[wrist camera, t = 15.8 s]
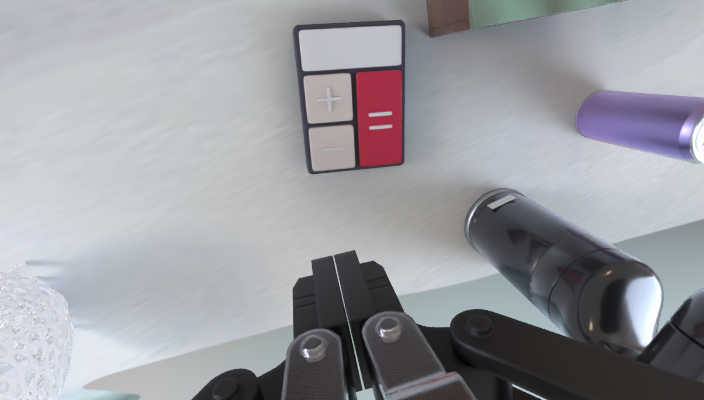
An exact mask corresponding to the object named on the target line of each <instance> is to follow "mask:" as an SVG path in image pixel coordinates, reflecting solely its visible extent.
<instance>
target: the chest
mask: <svg viewBox="0 0 704 400" xmlns="http://www.w3.org/2000/svg"><path fill="white" fill-rule="evenodd" d="M615 3H616V2H615ZM610 4H611V3H610ZM604 5H606V4H604ZM599 6H601V5H599ZM594 7H596V6H594ZM588 8H591V7H588ZM427 9H428V20H429V31H430V38H431V37H436V36H442V35H447V34H452V33H458V32H463V31H469V30H474V29H471V27H470V8H469V0H427ZM583 9H586V8H583ZM577 10H580V9H577ZM572 11H575V10H572ZM567 12H570V11H567ZM561 13H565V12H561ZM556 14H560V13H556ZM550 15H555V14H550ZM545 16H549V15H545ZM540 17H544V16H540ZM534 18H538V17H534ZM529 19H533V18H529ZM524 20H528V19H524ZM518 21H522V20H518ZM513 22H517V21H513ZM507 23H512V22H507ZM502 24H506V23H502ZM497 25H501V24H497ZM491 26H495V25H491ZM486 27H490V26H486ZM480 28H485V27H480ZM475 29H479V28H475Z"/></svg>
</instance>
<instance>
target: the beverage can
mask: <svg viewBox="0 0 704 400" xmlns="http://www.w3.org/2000/svg"><path fill="white" fill-rule="evenodd" d="M575 121H576V126H577V129H578V130H579V132H580V133H581V134H582V135H583V136H584V137H586V138H589V139H593V140H597V141H601V142H606V143H610V144H614V145H618V146H623V147H627V148H631V149H635V150H639V151H644V152H648V153H652V154H656V155H661V156H665V157H669V158H673V159H677V160H682V161H686V162H690V163H704V98H700V97H686V96H672V95H659V94H645V93H631V92H618V91H598V92H595V93H593V94H591V95H590V96H588V97H587V98H586V99H585V100H584V101H583V102H582V103H581V104H580V106H579V108H578V110H577V113H576V118H575Z"/></svg>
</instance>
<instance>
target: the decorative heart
mask: <svg viewBox="0 0 704 400" xmlns="http://www.w3.org/2000/svg"><path fill="white" fill-rule="evenodd" d="M26 265H27V264H26V262H25V261H23V262H21V263H20V264H19V265H17V266H16V267H14V268H13V269H12V270H10V271H9V272H8V273H2V272H0V319H2V320H4V321H5V322H4V323H3V325H1V326H0V400H22V398H23V397H24V396H25V395H26V394H27V393H30V397H29V399H28V400H35V398H37V399H38V400H58V399H59V397H60V394H61V392H62V389H63V386H64V382H65V379H66V376H67V374H68V370H69V365H70V359H71V347H72V330H73V329H74V326H73V324H72V320H71V315H70V311H69V307H68V303H67V301H66V300H65V298H64V297H63V296H62V295H61V294H60V293H59V292H57V291H55V290H53V289H51V288H50V287H48V286H46V285H44V284H42V283H39V282H37V281H38V279H37V278H36V277H33V278H32V279H29V278H26V277H22V276H18V275H14V274H16V273H17V272H18V271H20V270H21V269H22V268H24V267H25V266H26ZM7 283H8V284H7ZM4 289H6V291H5V292H2V291H3V290H4ZM39 289H40V290H41V291H40V290H39ZM14 291H15V292H16V293H15V292H14ZM8 297H12V298H10V299H7V298H8ZM39 298H40V299H39ZM25 301H29V302H25ZM38 304H40V305H42V306H43V309H42V311H38V310H37V309H36V308H35V307H36V306H37V305H38ZM19 305H20V306H19ZM24 307H26V308H27V310H25V311H22V309H23V308H24ZM7 309H9V310H10V312H9V314H2V313H1V312H2V311H3V310H7ZM28 312H31V315H29V314H28ZM17 315H20V316H21V321H20V322H15V321H14V320H13V318H14V317H15V316H17ZM54 317H55V318H54ZM33 320H35V321H36V323H35V325H33V326H32V325H31V323H32V321H33ZM42 320H44V321H42ZM42 324H43V326H42V327H41V325H42ZM16 326H18V327H17V328H15V329H13V327H16ZM23 328H24V330H22V329H23ZM47 329H48V334H47V335H46V336H45V334H46V331H47ZM21 330H22V331H21ZM15 339H16V343H17V345H16V348H13V347H12V346H13V340H15ZM50 339H51V341H50V343H49V340H50ZM20 340H22V341H23V342H24V343H25V344H22V343H21V341H20ZM34 340H38V341H37V342H33V341H34ZM36 348H39V349H38V353H37V354H36V355H33V352H34V350H35V349H36ZM51 349H52V351H51ZM59 350H60V351H59ZM50 351H51V352H50ZM18 354H20V355H19V357H18ZM41 355H43V360H41V358H40V356H41ZM17 357H18V359H17ZM24 357H26V359H24ZM36 361H37V362H38V363H36ZM7 364H8V365H7ZM52 369H53V371H52V373H51V370H52ZM33 371H34V372H33ZM43 371H45V373H44V374H43V375H41V373H42V372H43ZM32 378H33V380H32V382H31V384H30V385H29V386H28V383H29V381H30V380H31V379H32ZM55 379H56V380H55ZM41 381H43V382H42V384H41V385H40V386H39V387H38V388H37V386H38V385H39V383H40V382H41ZM54 381H55V384H54V386H53V383H54ZM46 393H47V395H46ZM45 395H46V397H45ZM44 397H45V398H44Z"/></svg>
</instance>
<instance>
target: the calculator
mask: <svg viewBox="0 0 704 400" xmlns="http://www.w3.org/2000/svg"><path fill="white" fill-rule="evenodd" d="M293 37H294V47H295V56H296V66H297V75H298V84H299V94H300V104H301V113H302V123H303V133H304V143H305V152H306V162H307V168H308V172H309V173H310V174H320V173H329V172H339V171H349V170H359V169H369V168H379V167H389V166H399V165H402V164H403V163H404V104H405V24H404V22H403V21H402V20H391V21H371V22H351V23H331V24H311V25H297V26H295V27H294V29H293Z"/></svg>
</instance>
